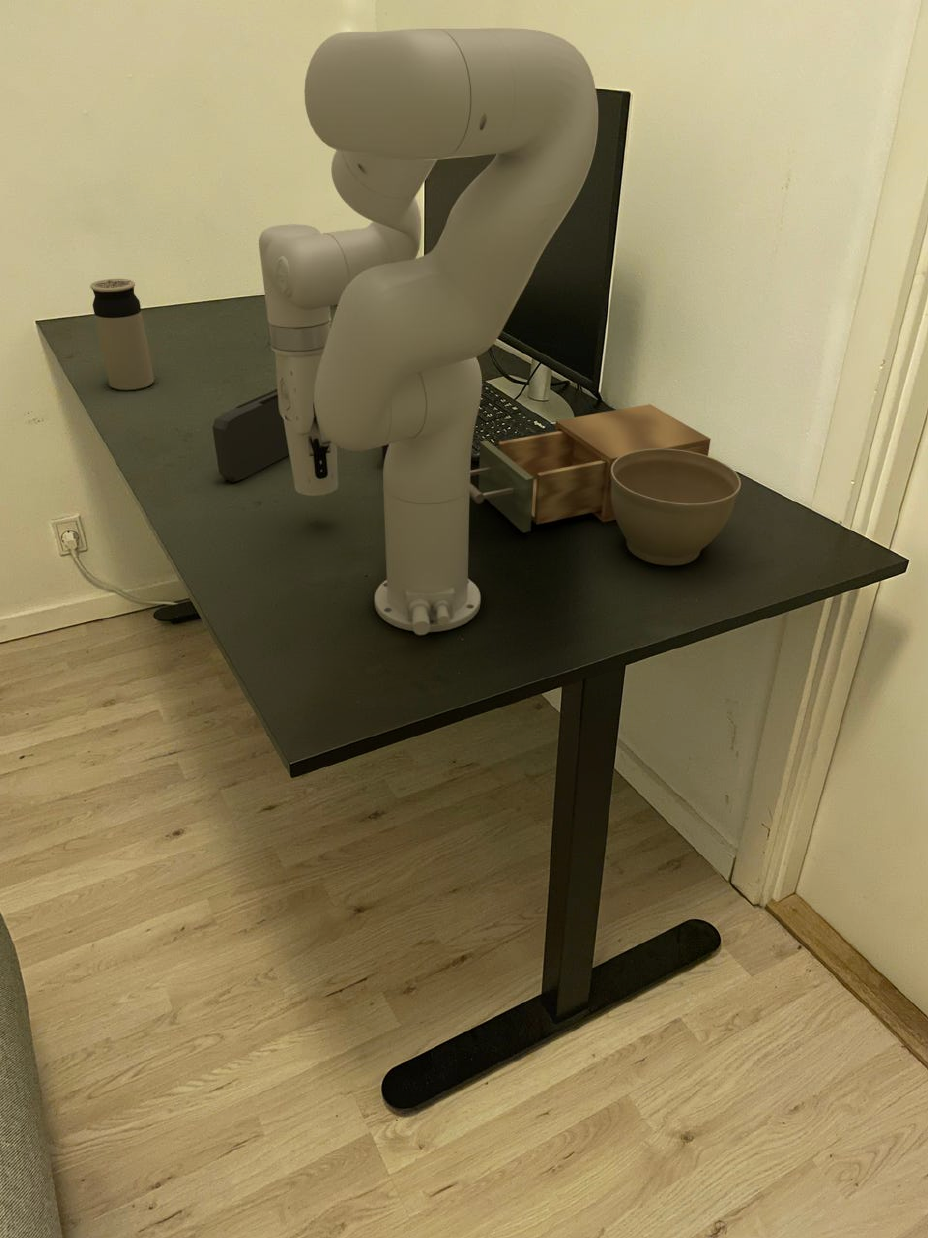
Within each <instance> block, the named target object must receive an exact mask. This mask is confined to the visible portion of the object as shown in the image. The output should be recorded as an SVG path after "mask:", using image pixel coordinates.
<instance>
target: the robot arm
mask: <svg viewBox="0 0 928 1238" xmlns="http://www.w3.org/2000/svg"><path fill="white" fill-rule="evenodd" d="M304 80H305V81H304V91H303V92H304V105H305V111H306V116H307V118H308V121H309V124H310V126H311V128H312V130H313V132H314V133H315V135H316V136H317V137H318V138H319V140H320V141H321V142H322V143H324V144H325V145H326V146H328V147H329V148H332V149H333V150H335V152H334V154H333V157H332V160H331V169H330V172H331V178H332V182H333V185H334V187H335V189H336V191H337V193H338V195H339V197H340V198H341V199H342V200H343V202H344V203H345V204H346V205H347V206H348V207H349V208H350V209H352V210H353V211H354V212H355V213H357V214H358V215H360V216H361V217H363V218H365V219H367V220H370V221H371V223H370V224H369V225H367V226H366V227H361V228H353V229H346V230H338V231H330V232H323V233H322V232H321V231H320V230H319V229H318V228H317V227H314V226H313V225H312V226H311V225H307V224H299V223H298V224H297V223H296V224H293V223H292V224H291V223H290V224H280V225H273V226H269V227H267V228H264V229H263V231H262V232H261V233H260V235H259V238H258V250H259V258H260V268H261V274H262V275H261V276H262V283H263V291H264V292H263V293H264V300H265V308H266V316H267V317H266V318H267V327H268V333H269V335H268V336H269V342H270V349H271V351H272V352H273V353H274V354H275V374H276V375H275V376H276V389H277V391H278V404H279V412H280V414H281V416H282V418H283V415H284V414H285V419H286V420H288V421H290V422H292V429H293V430H294V431H295V432H296V433H297V434H298V435H300V436H303V435H304V433H307V438H308V449H309V454H310V455H309V457H310V456H314V466H315V475H316V477H317V478H318V479H322V478H325V477H327V475H328V469H327V459H326V454H327V453H330V452H331V450H330V443H331V442H332V443H333V444H335V445H336V446H337V448H339V449H342V450H344V451H348V452H364V451H369V450H373V449H378V448H380V447H381V448H382V446H384V445H388V444H389V446H388V449H387V452H386V456H385V461H384V466H382V467H383V469H382V494H383V515H384V516H383V517H384V519H383V520H384V543H385V545H384V546H385V567H386V568H385V569H386V579H385V580H384V581H383V582H382V583H380V584H379V585H378V587H377V588H376V590H375V592H374V608H375V611H376V612H377V614H378V616H379V617H380V618H381V619H382V620H384V621H385V622H386V623H388V624H390V625H392V626H394V627H396V628H397V629H401V630H405V631H409V632H414V634H415V635H418V636H425V635H427V634H428V633H438V632H439V633H440V632H444V631H449V630H452V629H455V628H458V627H461V626H463V625H466V624H467V623H468V622H469V621H471V620H473V619H474V618H475V616H476V615H477V614H478V612H479V610H480V608H481V603H482V602H481V601H482V600H481V592H480V589H479V587H478V586H477V585H476V584H475V583H474V582H473V581H472V580H470V579H469V539H470V538H469V537H470V536H469V535H470V533H469V532H470V526H469V525H470V496H469V488H470V483H471V476H470V471H471V463H472V448H473V440H474V433H475V427H476V423H477V418H478V414H479V411H480V410H479V409H480V406H481V405H480V404H481V400H482V393H483V377H482V371H481V366H480V363H479V361H478V359H477V357H478V356H481V355H482V354H484V353H486V352H487V351H488V350H489V349H490V348H492V346H493V345H494V344H495V343H496V341H497V339H498V338H499V336H500V334H501V333H502V331H503V330H504V328H505V325H506V324H507V322H508V321H509V318H510V316H511V314H512V312H513V311H514V308H515V307H516V305H517V303H518V301H519V299H520V297H521V295H522V293H523V292H524V289H525V287H526V286H527V284H528V282H529V280H530V278H531V276H532V274H533V272H534V270H535V268H536V266H537V263H538V262H539V260H540V258H541V256H542V254H543V253H544V250H545V249H546V247H547V246H548V244H549V242H550V240H551V239H552V238H553V236H554V234H555V232H556V231H557V230H558V228H559V227H560V225H561V224H562V222H563V220H564V219H565V218H566V216H567V214H568V212H569V211H570V209H571V208H572V206H573V204H574V203H575V201H576V199H577V197H578V196H579V193H580V192H581V190H582V188H583V185H584V183H585V182H586V179H587V177H588V174H589V170H590V168H591V165H592V161H593V159H594V155H595V150H596V144H597V140H598V139H597V138H598V130H599V102H598V95H597V89H596V84H595V80H594V75H593V72H592V71H591V68H590V65H589V64H588V62H587V60H586V59H585V57H584V55H583V54H582V53H581V51H579V50H578V48H577V47H576V46H575V45H573V44H572V43H570V42H569V41H568V40H566V39H564V38H562V37H560V36H558V35H555V34H552V33H550V32H547V31H542V30H536V29H527V28H508V27H507V28H505V27H504V28H492V27H491V28H490V27H489V28H409V29H396V30H386V31H385V30H384V31H343V32H336V33H334V34H332V35H330V36H328V37H327V38H326V39H324V40H323V41H322V43H320V45H319V46H318V48H316V50H315V51H314V54H313V55H312V57H311V59H310V62H309V65H308V67H307V70H306V75H305V78H304ZM489 155H495V156H494V158H493V160H491V162H490V163H489V164H488V165H487V166H486V167H485V168H484V169H483V170H482V171H481V172H480V173H479V174H478V175H477V177H475V178H473V180H472V181H471V183H470V184H469V185H468V186H467V187H466V188H465V189H464V190H463V192H462V193H461V194H460V196H459V197H458V199H457V200H456V202H455V204H454V205H453V207H452V208H451V210H450V213H449V215H448V217H447V220H446V222H445V226H444V228H443V230H442V233H441V235H440V237H439V239H438V241H437V243H436V244H435V246H434V247H433V249H432V250H431V251H430V252H428V253H426V254H424V255H422V256H420V257H417V256H418V254H419V252H420V247H421V240H422V216H421V211H420V207H419V204H418V201H417V199H416V197H417V195H418V193H419V192H420V190H421V188H422V187H423V185H424V183H425V181H426V179H427V178H428V177H429V175H430V173H431V172H432V169H433V168H434V167H435V164H436V162H437V161H438V160H447V159H456V158H468V157H478V156H489ZM333 306H334V307H335V306H336V309H335V312H334V316H333V319H332V318H331V317H332V316H331V307H333ZM312 423H315V425H316V429H317V433H318V437H317V439H314V441H313V443H312V436H310V435H308V433H309V432H310V430H311V426H312ZM320 461H322V462H321V464H320ZM321 470H322V472H321ZM332 478H333V476H332ZM309 483H310V481H309Z"/></svg>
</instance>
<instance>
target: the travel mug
mask: <svg viewBox="0 0 928 1238" xmlns="http://www.w3.org/2000/svg"><path fill="white" fill-rule="evenodd" d="M135 286H136V282H135V281H133V280H132V279H126V278H108V279H107V278H106V279H101V280H97V281H94V282H92V283H91V284H90V285H89V287H90V290H92V292H93V296H94V297H93V302H92V308H93V314H94V319H95V325H96V328H97V333H98V338H99V343H100V347H101V352H102V353H101V354H102V357H103V362H104V366H105V370H106V376H107V380H108V386H109V387H111V388H113V389H116V390H119V391H137V390H140V389H144V388H147V387H148V386H150V385H152V384H153V383H154V382H155V378H154V373H153V372H154V371H153V366H152V361H151V356H150V351H149V345H148V340H147V334H146V328H145V323H144V318H143V312H142V307H141V301H140V299H139V298H138V297H137V295H136V294H135Z"/></svg>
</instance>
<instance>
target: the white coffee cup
mask: <svg viewBox="0 0 928 1238" xmlns="http://www.w3.org/2000/svg"><path fill="white" fill-rule="evenodd" d="M283 419H284V425H285V431H286V437H287V443H288V449H289V455H288V456H289V461H290V466H291V467H290V468H291V472H292V473H291V474H292V478H293V485H294V490H295V492H297V493H298V494H299V495H304V496H308V497H309V496H311V497H317V496H325V495H328V494H331V493H333V492H334V491H336V490H337V489H338V487H339V473H338V472H339V470H338V446H336V445H335V444H333V443H332V442H331V443H330V450H331V452H330V453H327V454H326V459H327V469H328V475H327V477H325V478H322V479H318V478H317V477H316V475H315V466H314V456H310V457H309V455H310V454H309V449H308V438H307V433H304V435H303V436H300V435H298V434H297V433H296V432H295V431H294V430H293V429H292V422H290V421H288V420H286V419H285V414H284V415H283ZM308 435H310V436H312V443H313V441H314V439H317V437H318V433H317V429H316V425H315V423H312V426H311V430H310V432H309V433H308ZM321 462H322V461H320V464H321ZM321 472H322V470H321ZM332 476H333V478H332ZM309 481H310V483H309Z"/></svg>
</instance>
